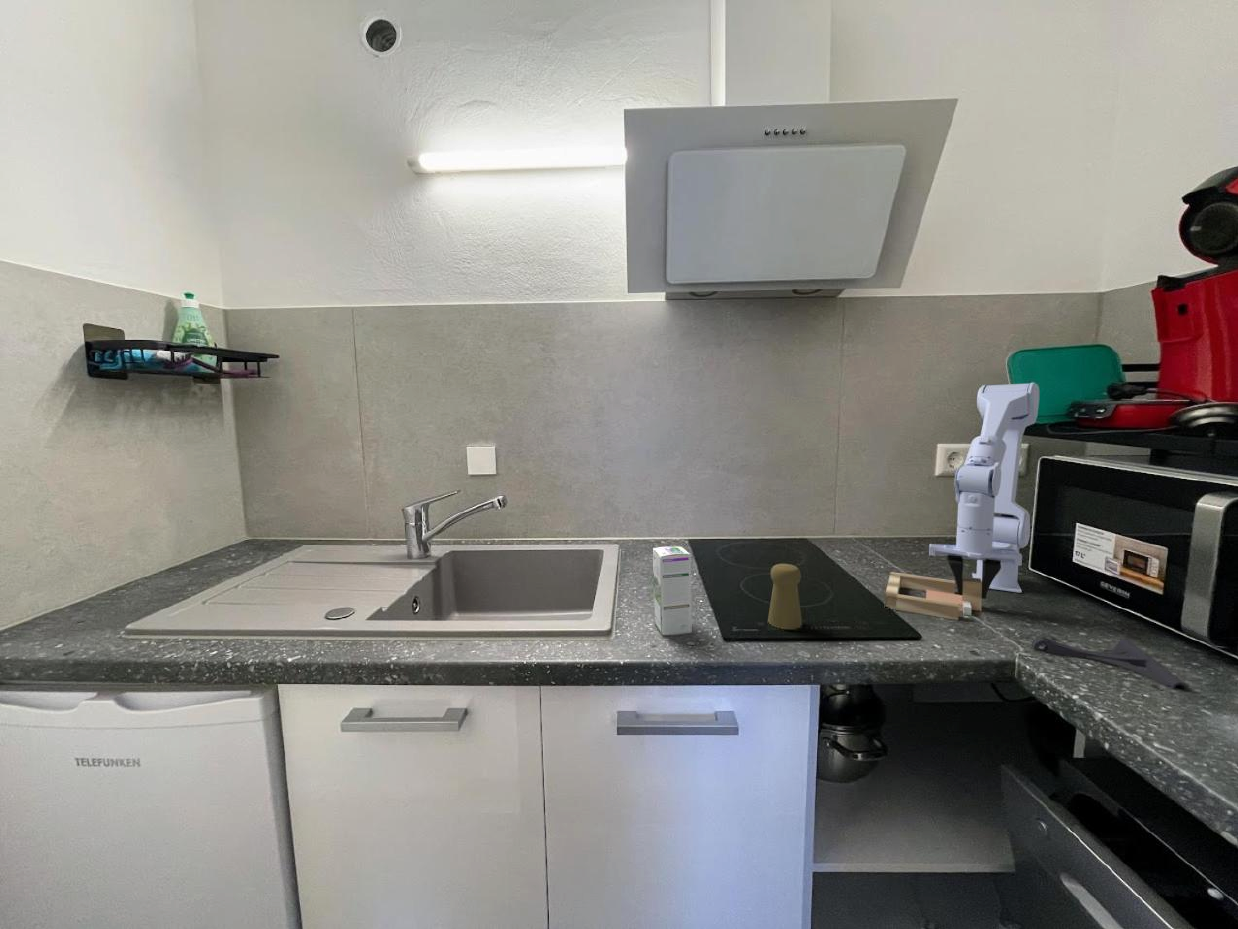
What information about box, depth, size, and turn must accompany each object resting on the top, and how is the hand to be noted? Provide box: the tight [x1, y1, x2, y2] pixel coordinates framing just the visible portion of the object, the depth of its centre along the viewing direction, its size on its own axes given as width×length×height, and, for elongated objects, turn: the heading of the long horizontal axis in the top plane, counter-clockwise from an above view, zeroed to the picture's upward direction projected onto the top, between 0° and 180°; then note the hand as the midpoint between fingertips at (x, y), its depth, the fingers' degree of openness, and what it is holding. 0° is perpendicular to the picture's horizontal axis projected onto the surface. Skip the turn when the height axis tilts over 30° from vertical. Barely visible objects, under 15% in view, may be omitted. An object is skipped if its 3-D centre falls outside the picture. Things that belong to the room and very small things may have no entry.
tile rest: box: [884, 571, 960, 621], centre depth 101 cm, size 17×12×2 cm
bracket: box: [1031, 636, 1190, 692], centre depth 76 cm, size 14×15×3 cm
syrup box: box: [652, 545, 693, 636], centre depth 89 cm, size 6×6×14 cm
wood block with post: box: [961, 576, 983, 616], centre depth 97 cm, size 10×3×6 cm, turn 148°
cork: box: [767, 563, 803, 629], centre depth 90 cm, size 6×6×11 cm
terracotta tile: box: [925, 590, 963, 612], centre depth 99 cm, size 6×6×2 cm
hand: (971, 595), depth 97 cm, fingers closed on wood block with post, 3 cm apart
